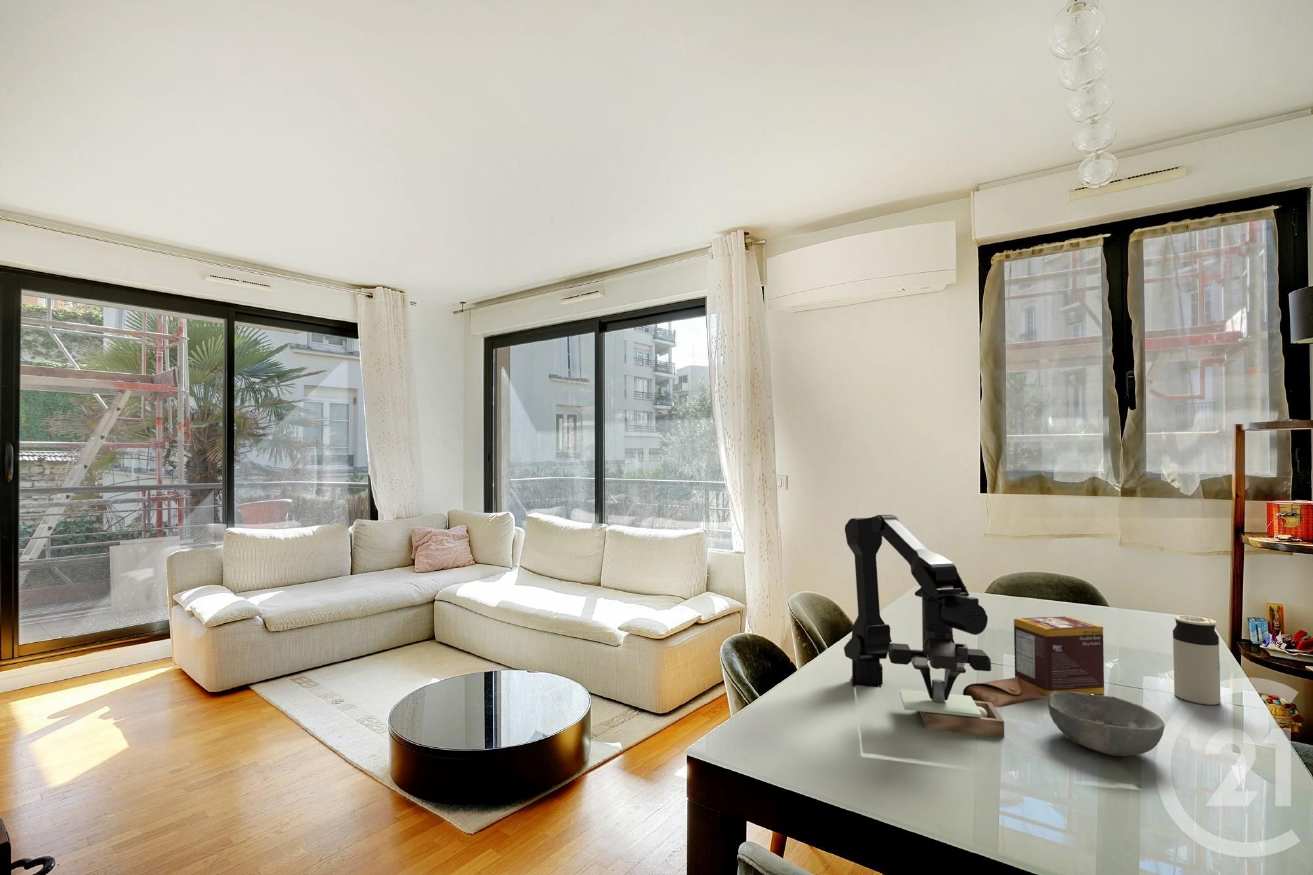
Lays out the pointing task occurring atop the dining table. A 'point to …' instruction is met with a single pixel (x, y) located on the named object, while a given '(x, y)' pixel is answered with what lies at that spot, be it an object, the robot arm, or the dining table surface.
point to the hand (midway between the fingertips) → (938, 699)
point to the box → (967, 722)
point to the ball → (983, 712)
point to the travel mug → (1196, 660)
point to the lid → (939, 701)
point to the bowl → (1105, 723)
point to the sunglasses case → (1002, 692)
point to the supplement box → (1059, 654)
